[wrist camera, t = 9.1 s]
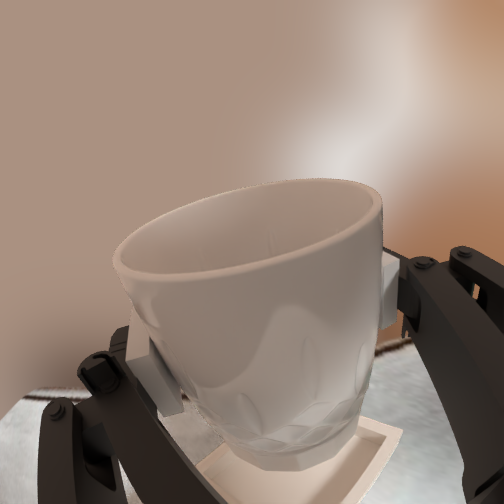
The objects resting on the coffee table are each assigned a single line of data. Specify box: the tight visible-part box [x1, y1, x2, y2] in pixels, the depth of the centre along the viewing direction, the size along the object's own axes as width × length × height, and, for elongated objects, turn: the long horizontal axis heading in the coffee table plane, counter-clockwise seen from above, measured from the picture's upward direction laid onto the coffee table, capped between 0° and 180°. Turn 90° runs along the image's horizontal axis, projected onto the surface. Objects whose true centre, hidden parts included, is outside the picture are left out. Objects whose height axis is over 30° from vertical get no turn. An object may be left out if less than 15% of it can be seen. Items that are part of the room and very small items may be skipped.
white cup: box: [112, 178, 383, 472], centre depth 10 cm, size 8×8×10 cm
